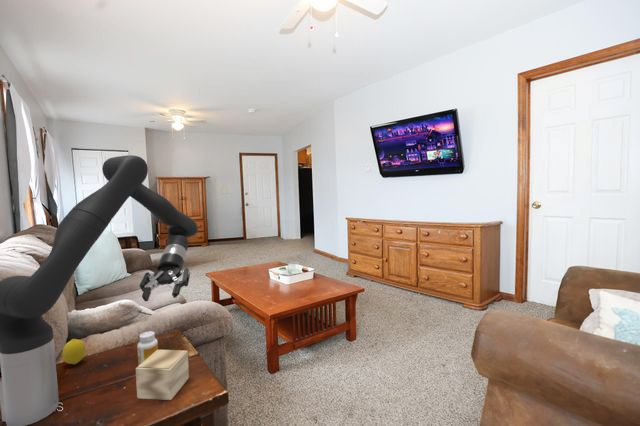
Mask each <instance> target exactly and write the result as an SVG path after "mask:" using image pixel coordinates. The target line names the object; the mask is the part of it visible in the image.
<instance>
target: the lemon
mask: <svg viewBox="0 0 640 426" xmlns="http://www.w3.org/2000/svg"><path fill="white" fill-rule="evenodd" d="M86 351H87V349H86V344H85V342H84V341H82V340H81V339H76V338H71V340H69V341H68V342H67V343H65V344H64V347H63V348H62V354H61V356H62V359H63V361H64V362H65V363H67V364H70V365H71V364H72V365H76V364H78V363H79V362H80V361H82V360H83V358H84V357H85V356H86V355H85V354H86Z"/></svg>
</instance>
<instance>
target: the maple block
mask: <svg viewBox="0 0 640 426" xmlns="http://www.w3.org/2000/svg"><path fill="white" fill-rule="evenodd" d="M189 369H190V368H189V352H188V350H181V349H158V350H156V351H155V352H154V353H153V354H152V355H151V356H149V357H148V358H147V359H146V360H145V361H144V362H142V363H141V364H140V365H139V366H137V367H135V379H136V380H135V382H136V383H135V384H136V394H137V395H136V397H137V399H141V400H162V401H163V400H164V401H165V400H166V401H167V400H168V401H171V400H172V399H173V398H175V396H176V395H177V394H178V392H179V391H180V390H181V389H182V387H183V386H184V385H185V383H186V382H187V381H188V380H189V378H190V375H189V374H190V373H189V371H190V370H189Z"/></svg>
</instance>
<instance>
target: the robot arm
mask: <svg viewBox="0 0 640 426" xmlns="http://www.w3.org/2000/svg"><path fill="white" fill-rule="evenodd" d="M148 172H149V167H148V164H147V161H146V160H145V159H143V158H142V157H140V156H138V155H133V154H132V155H131V154H129V155H119V156H113V157H109V158H108V159H105V161H104V162H103V164H102V173H103V177H104V178H105V179H106V181H107V182H106V183H105V184H104V185H103V186H102V187H100V188H98V190H96V191H94V192H92V193H91V194H89V195H88V196H86V197H84V198H83V199H82V200H81V201H79V202H78V203H76V204H75V205H74V206H73V207H72V209H70V210H69V212H68V213H67V214H66V215H65V217H64V218H63V219H62V220H61V221H60V222H59V225H57V227H56V230H55V234H54V238H53V242H52V243H53V244H52V247H51V250H50V253H49V254H48V256H47V258H46V259H45V260H44V261H43V262H42V263H41V265H40V266H39V267H38V268H37V270H35V272H34V273H32V275H30V276H29V275H12V276H8V277H5V278H3V279H1V280H0V373H1V380H0V412H1V421H2V422H5V424H6V426H28V425H33V424H34V423H37V422H39V421H41V420H43V419H45V418H47V417H49V415H51V414H52V413H53V412H56V410H57V408H58V406H59V403H60V401H59V388H58V387H59V386H58V378H57V375H58V374H57V364H56V351H55V338H54V336H55V335H54V329H53V327H52V325H51V324H49V323H48V322H47V321H46V320H45V319H44V317H43V315H45V314H46V313H48V312H49V311H50V310H51V309H52V308H54V307H53V306H55V305H56V303H57V302H58V300H59V298H60V296H61V295H62V294H63V292H64V290H65V288H66V287H67V286H68V283H69V282H70V280H71V278H72V277H73V275H74V273H75V272H76V270H77V268H78V267H79V265H80V264H81V263H82V262H83V260H84V258H85V257H86V256H87V254H88V253H89V251H90V250H91V248H92V247H93V246H94V245H95V243H96V242H97V240H98V239H99V238H100V237H101V235H102V234H103V233H104V231H105V230H106V228H107V227H108V226H109V224H110V223H111V222H112V220H113V218H114V217H115V216H116V215H117V213H118V212H119V211H120V210H121V208H122V207H123V205H124V204H125V203H126V201H127V200H128V199H129V198H130V197H131V198H132V199H133V200H134V201H136V202H138V203H139V204H140V205H141V206H143V207H144V208H145V209H146V210H148V211H149V212H150V213H151V214H152V215H153V216H154V217H155V218H156V219H157V220H159V222H160V223H161V224H163V225H164V226H167V227H168V229H167V243H166V246H165V248H164V250H163V252H162V253H161V257H160V260H159V262H158V265H157V269H156V271H155V272H154V273H150V272H149V271H147V272H145V274H144V275H143V277H142V279H141V281H140V283H139V288H140V290H141V291H142V295H141V298H142V300H143V301H144V302H148V301H149V300H150V299H149V298H150V297H151V294H152V291H154V289H157V288H159V287H160V286H165V285H171V284H172V283H173V284H174V286H173V289H172V292H171V295H172V298H174V299H177V298H178V296H179V295H180V293H181V289H182V288H183V287H188V286H189V282H190V277H191V276H190V275H191V272H190V270H189V267H185V268H184V264H185V261H186V256H187V251H188V248H189V240H188V238H191V237H194V236H195V235H197V233H198V231H199V229H198V228H199V226H198V225H197V223H196V221H195V220H194V219H192V217H190V216H188V215H186V214H184V213H183V212H181V211H179V210H178V209H177V208H176V207H175V206H174V205H173V204H172V203H171V201H169V200H168V199H167V198H165V197H164V196H163V195H161V194H159V193H157V192H156V191H154V190H152V189H151V188H149V187H147V186H146V185H144V184H143V183H144V182H145V180H146V178H147V176H148ZM183 268H184V270H182V269H183ZM181 276H182V280H179V278H180V277H181Z"/></svg>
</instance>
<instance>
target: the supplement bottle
mask: <svg viewBox="0 0 640 426" xmlns="http://www.w3.org/2000/svg"><path fill="white" fill-rule="evenodd" d="M136 348H137V361H138V362H137V363H138V366H139V365H140V364H141V363H142V362H144V361H145V360H146V359H147V358H148V357H149V356H151V355H152V354H153V353H154V352H155V351H156V350H159V343H158V339H157V338H156V334H155V332H154V331H151V330H150V331H144V332H142V333H140V334H139V342H138V343H137V347H136ZM138 366H137V367H138Z"/></svg>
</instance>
